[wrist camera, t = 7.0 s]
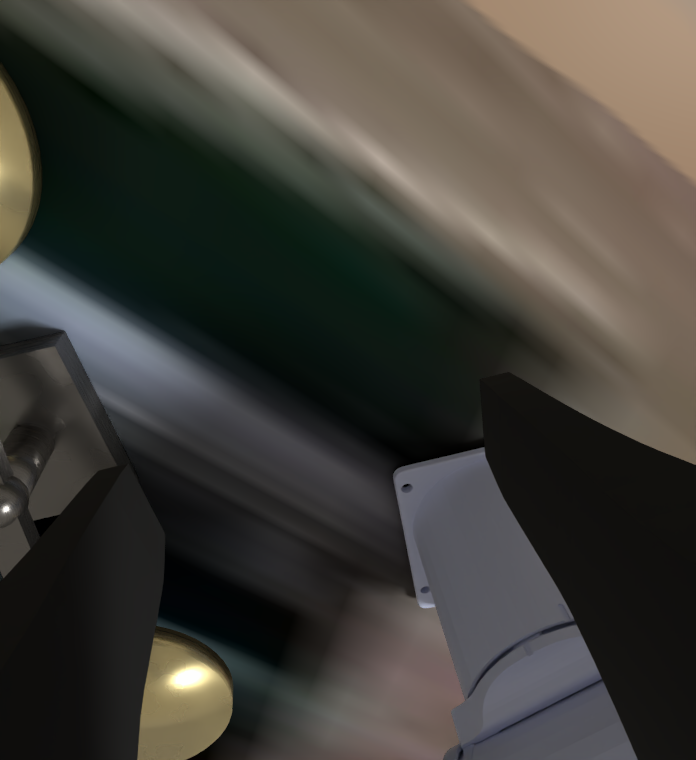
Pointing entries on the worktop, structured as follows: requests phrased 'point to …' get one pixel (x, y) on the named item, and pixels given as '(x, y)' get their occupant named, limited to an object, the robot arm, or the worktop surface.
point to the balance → (80, 465)
